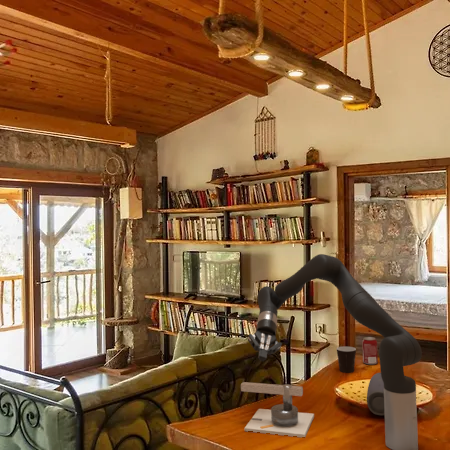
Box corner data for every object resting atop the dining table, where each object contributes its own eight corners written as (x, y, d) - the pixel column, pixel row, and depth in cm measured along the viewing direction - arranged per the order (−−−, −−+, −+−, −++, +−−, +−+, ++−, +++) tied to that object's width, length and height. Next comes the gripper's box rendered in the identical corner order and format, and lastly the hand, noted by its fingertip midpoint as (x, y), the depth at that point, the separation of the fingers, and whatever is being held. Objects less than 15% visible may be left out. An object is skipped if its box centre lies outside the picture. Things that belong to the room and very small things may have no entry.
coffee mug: (342, 367, 236) (341, 345, 236) (359, 370, 231) (359, 348, 231) (330, 373, 227) (330, 351, 227) (348, 376, 222) (347, 353, 222)
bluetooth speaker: (394, 420, 172) (393, 391, 172) (366, 418, 175) (365, 389, 175) (394, 398, 194) (394, 371, 194) (369, 396, 197) (368, 370, 197)
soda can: (378, 365, 237) (377, 339, 237) (363, 365, 238) (362, 339, 238) (377, 361, 243) (376, 336, 243) (362, 361, 245) (361, 336, 245)
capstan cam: (305, 417, 173) (304, 382, 173) (300, 427, 165) (299, 391, 165) (246, 411, 180) (245, 378, 180) (239, 421, 172) (237, 386, 171)
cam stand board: (314, 416, 178) (313, 413, 178) (304, 437, 161) (304, 434, 161) (259, 411, 184) (258, 408, 184) (244, 431, 167) (244, 427, 167)
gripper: (252, 313, 190) (246, 346, 176) (286, 323, 190) (283, 357, 175) (247, 327, 194) (241, 361, 180) (280, 337, 194) (277, 371, 179)
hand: (262, 359), depth 178 cm, fingers closed
